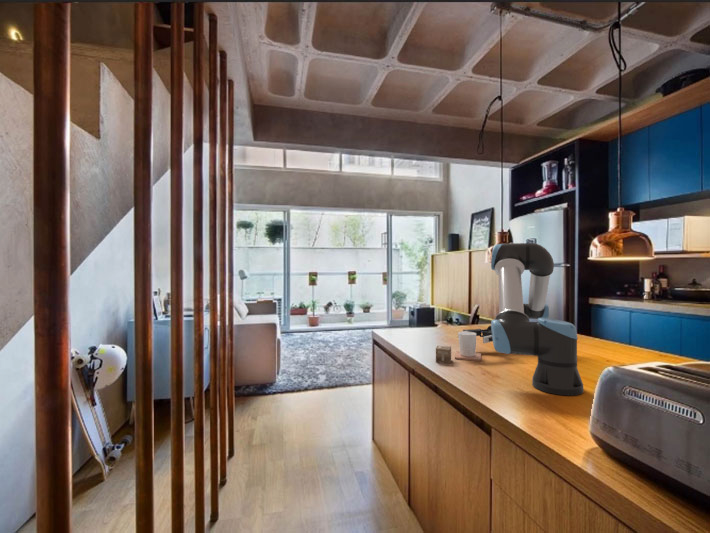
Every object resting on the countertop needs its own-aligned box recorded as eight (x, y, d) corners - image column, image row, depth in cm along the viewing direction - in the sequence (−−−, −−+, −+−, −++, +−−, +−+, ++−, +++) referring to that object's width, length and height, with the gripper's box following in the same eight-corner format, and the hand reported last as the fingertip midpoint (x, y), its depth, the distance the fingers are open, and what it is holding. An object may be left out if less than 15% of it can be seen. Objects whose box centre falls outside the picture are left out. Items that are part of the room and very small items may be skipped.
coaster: (480, 361, 152) (480, 359, 152) (454, 359, 156) (454, 357, 156) (480, 354, 162) (480, 353, 162) (456, 353, 166) (456, 351, 166)
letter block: (450, 363, 149) (449, 349, 149) (435, 362, 151) (435, 348, 151) (451, 359, 155) (451, 346, 155) (437, 358, 157) (437, 345, 157)
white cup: (454, 354, 161) (454, 332, 161) (467, 351, 165) (467, 330, 165) (467, 358, 154) (467, 335, 154) (480, 355, 158) (480, 333, 158)
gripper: (521, 344, 163) (495, 351, 151) (475, 335, 183) (449, 340, 171) (521, 328, 163) (495, 333, 151) (475, 321, 183) (449, 325, 171)
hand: (470, 337), depth 161 cm, fingers open, 13 cm apart
